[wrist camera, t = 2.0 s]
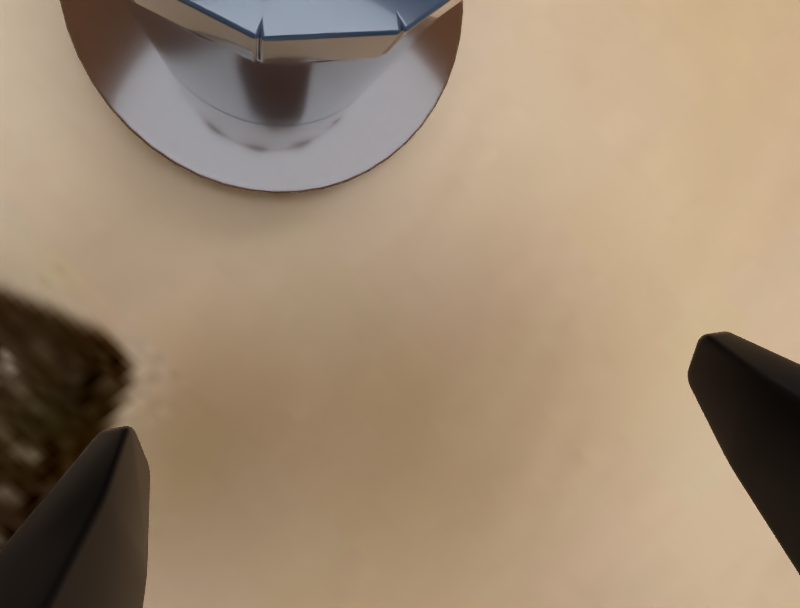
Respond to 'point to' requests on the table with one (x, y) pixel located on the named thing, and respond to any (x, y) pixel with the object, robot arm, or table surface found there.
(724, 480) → the table surface
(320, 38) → the mug
